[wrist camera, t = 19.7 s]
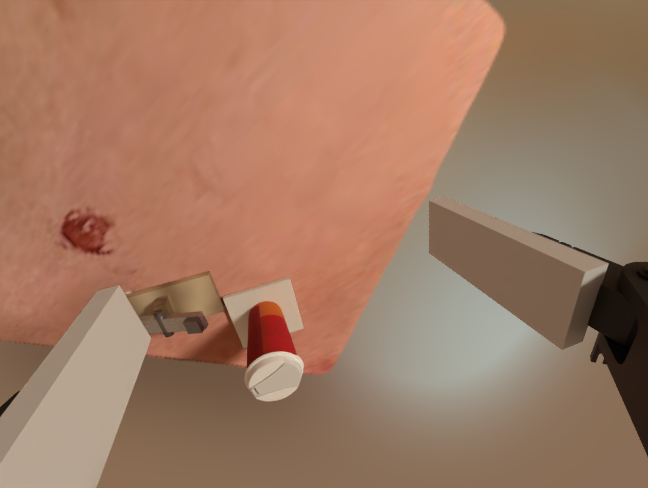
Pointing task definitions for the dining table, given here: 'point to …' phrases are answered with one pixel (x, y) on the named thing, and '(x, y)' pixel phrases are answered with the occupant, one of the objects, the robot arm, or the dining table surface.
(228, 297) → the tile
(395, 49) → the dining table surface
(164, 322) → the lever
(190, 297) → the lever base
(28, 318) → the dining table surface
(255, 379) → the paper cup
